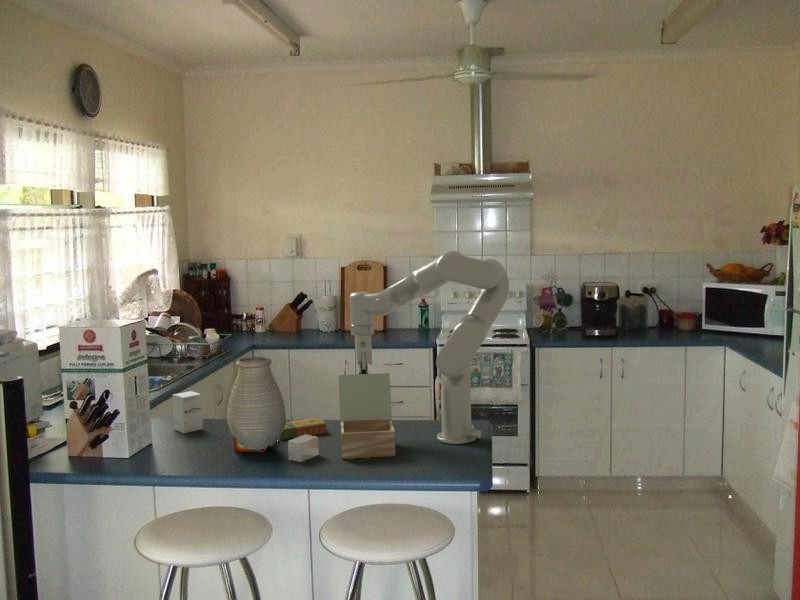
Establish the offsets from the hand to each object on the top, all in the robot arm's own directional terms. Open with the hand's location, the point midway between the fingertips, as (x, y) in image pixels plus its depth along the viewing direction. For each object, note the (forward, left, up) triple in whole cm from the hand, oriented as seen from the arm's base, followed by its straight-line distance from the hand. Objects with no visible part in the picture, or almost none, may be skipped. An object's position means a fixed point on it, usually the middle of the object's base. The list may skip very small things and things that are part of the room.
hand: (364, 384), depth 257 cm
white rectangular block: (+2, +28, -17) cm, 33 cm away
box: (-11, +13, -17) cm, 24 cm away
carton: (+20, +10, -18) cm, 29 cm away
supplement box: (+57, +26, -17) cm, 65 cm away
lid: (-5, +6, -2) cm, 8 cm away
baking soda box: (+22, +30, -17) cm, 41 cm away
